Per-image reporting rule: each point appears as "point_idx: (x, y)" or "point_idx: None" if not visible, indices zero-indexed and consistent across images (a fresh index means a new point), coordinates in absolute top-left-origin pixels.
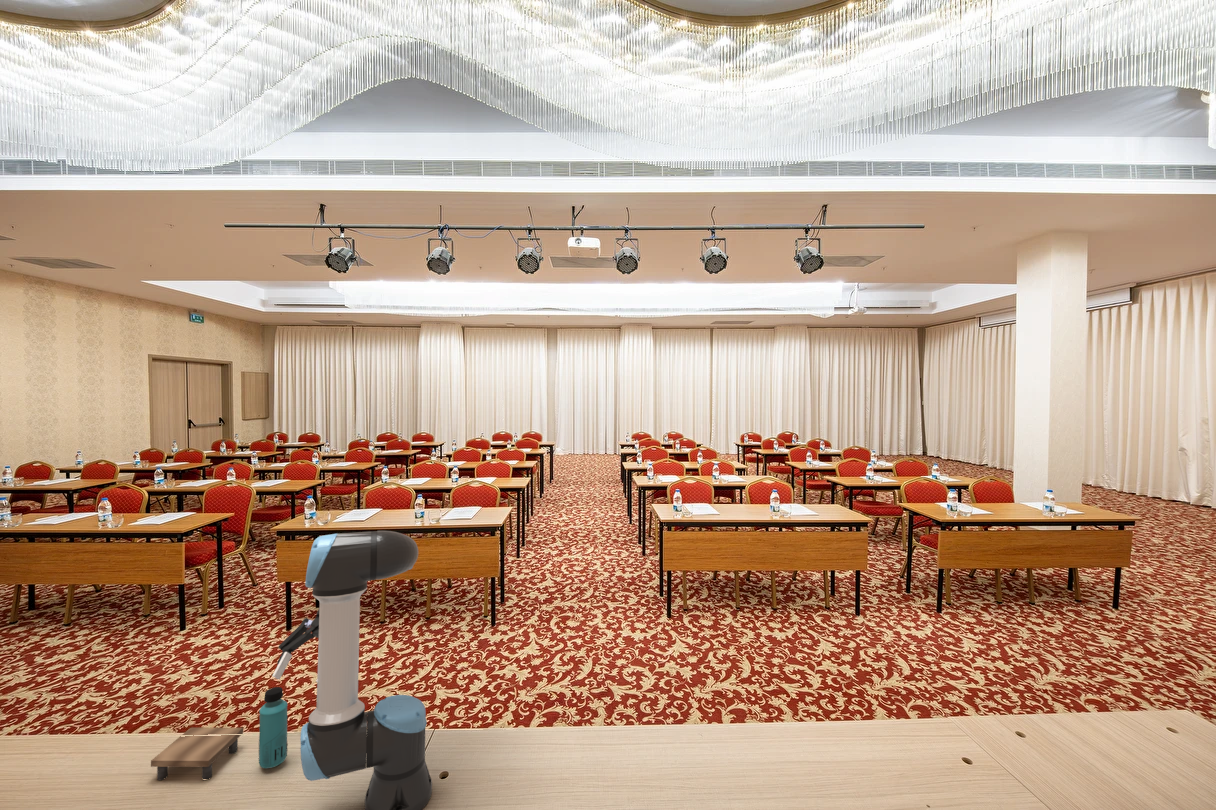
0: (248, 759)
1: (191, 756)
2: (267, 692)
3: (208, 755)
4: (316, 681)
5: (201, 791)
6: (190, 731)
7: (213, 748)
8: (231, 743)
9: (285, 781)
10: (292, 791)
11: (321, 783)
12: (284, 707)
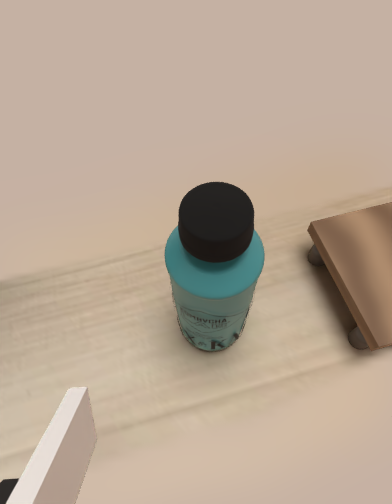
0: (290, 327)
1: (366, 221)
2: (231, 190)
3: (332, 233)
4: (82, 388)
5: (284, 230)
6: None
7: (351, 255)
8: (345, 300)
9: (142, 293)
10: (106, 274)
11: (57, 308)
12: (165, 256)
